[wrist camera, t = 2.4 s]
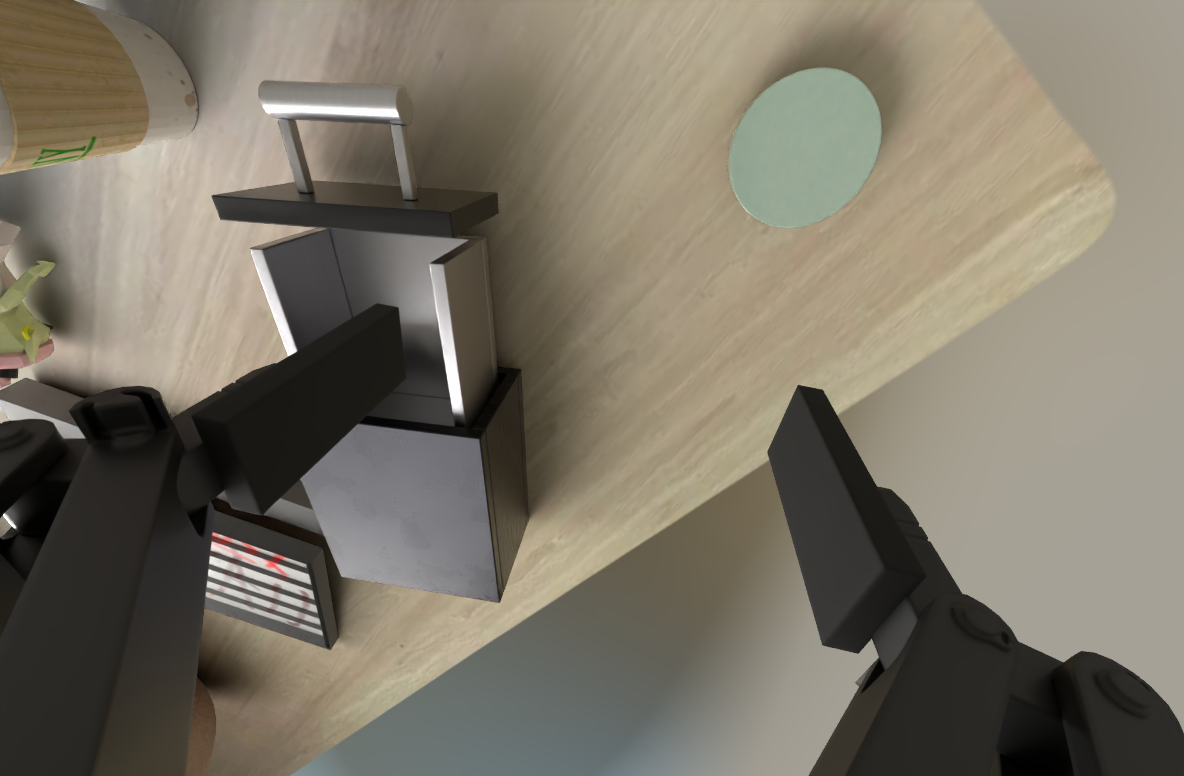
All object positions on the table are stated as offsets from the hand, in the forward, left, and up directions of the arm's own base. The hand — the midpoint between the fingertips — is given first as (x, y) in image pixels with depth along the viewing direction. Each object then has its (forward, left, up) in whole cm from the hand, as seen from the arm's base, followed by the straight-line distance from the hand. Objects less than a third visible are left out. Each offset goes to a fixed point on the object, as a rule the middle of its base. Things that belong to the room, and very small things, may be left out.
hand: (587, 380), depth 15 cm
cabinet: (+14, +18, -16) cm, 28 cm away
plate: (-9, -6, -16) cm, 19 cm away
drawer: (+14, +2, -15) cm, 21 cm away
